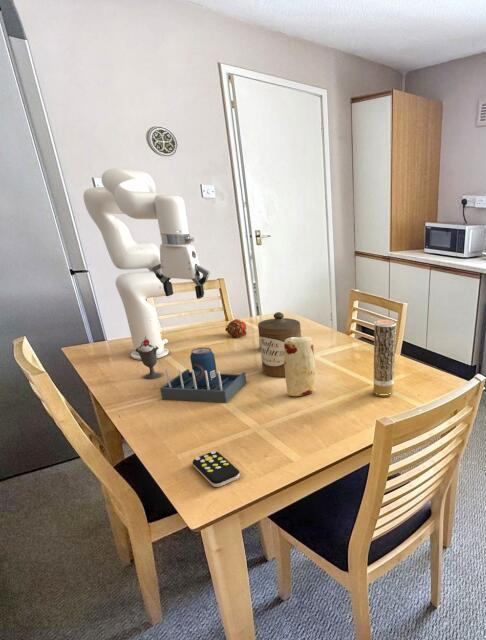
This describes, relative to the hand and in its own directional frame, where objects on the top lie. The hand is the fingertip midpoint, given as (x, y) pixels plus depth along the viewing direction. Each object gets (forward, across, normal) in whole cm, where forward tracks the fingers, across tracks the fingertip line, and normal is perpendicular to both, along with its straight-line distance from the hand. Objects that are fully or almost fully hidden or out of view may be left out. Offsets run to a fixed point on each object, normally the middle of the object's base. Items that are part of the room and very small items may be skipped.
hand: (185, 296), depth 129 cm
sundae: (+30, +16, -1) cm, 34 cm away
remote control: (+28, -30, +50) cm, 65 cm away
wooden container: (+29, -25, -13) cm, 41 cm away
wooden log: (+28, -65, +2) cm, 71 cm away
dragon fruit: (+30, +8, -50) cm, 59 cm away
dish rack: (+29, -6, +8) cm, 31 cm away
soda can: (+28, -6, +7) cm, 29 cm away
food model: (+28, -38, +7) cm, 48 cm away
